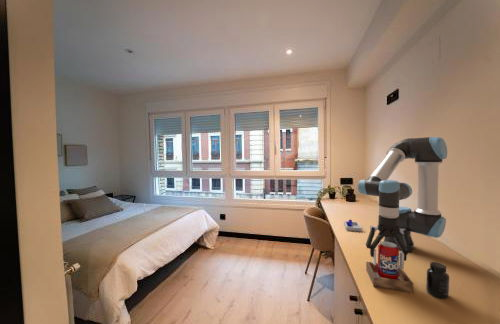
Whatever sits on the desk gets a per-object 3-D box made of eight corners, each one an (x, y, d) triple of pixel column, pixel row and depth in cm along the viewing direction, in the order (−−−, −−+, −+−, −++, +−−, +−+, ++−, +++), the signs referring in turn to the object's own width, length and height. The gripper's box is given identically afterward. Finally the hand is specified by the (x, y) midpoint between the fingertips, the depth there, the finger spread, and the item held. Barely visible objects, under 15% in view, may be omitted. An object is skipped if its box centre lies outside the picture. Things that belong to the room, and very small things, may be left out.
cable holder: (351, 228, 159) (352, 223, 158) (346, 227, 161) (346, 222, 160) (354, 225, 165) (354, 220, 165) (349, 224, 167) (349, 219, 167)
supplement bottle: (421, 289, 89) (422, 260, 88) (436, 288, 89) (437, 259, 89) (437, 300, 82) (438, 269, 81) (453, 299, 82) (454, 268, 82)
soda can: (388, 272, 99) (388, 240, 99) (402, 281, 92) (403, 246, 92) (373, 273, 98) (374, 240, 98) (386, 283, 90) (387, 247, 90)
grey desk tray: (357, 225, 166) (357, 222, 166) (361, 232, 153) (361, 228, 153) (343, 224, 169) (344, 221, 169) (346, 230, 156) (346, 226, 156)
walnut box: (399, 274, 100) (399, 265, 99) (412, 293, 86) (413, 283, 86) (366, 269, 104) (366, 261, 104) (373, 286, 90) (373, 277, 90)
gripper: (415, 215, 94) (413, 264, 95) (358, 211, 101) (358, 258, 102) (423, 220, 87) (421, 274, 88) (361, 216, 93) (361, 266, 94)
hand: (387, 265), depth 95 cm, fingers open, 10 cm apart
